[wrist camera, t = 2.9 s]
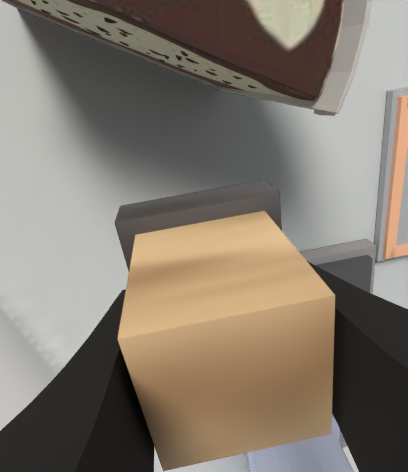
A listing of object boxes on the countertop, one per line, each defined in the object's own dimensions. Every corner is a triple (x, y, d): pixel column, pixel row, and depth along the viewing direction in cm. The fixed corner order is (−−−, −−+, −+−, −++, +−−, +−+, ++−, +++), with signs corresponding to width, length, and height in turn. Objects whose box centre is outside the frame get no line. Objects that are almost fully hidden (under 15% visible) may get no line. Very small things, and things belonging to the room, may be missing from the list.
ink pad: (359, 345, 24) (370, 361, 23) (241, 370, 24) (246, 387, 23) (366, 238, 20) (381, 249, 19) (226, 266, 20) (231, 279, 19)
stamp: (273, 297, 13) (351, 442, 8) (152, 321, 13) (146, 487, 8) (265, 179, 11) (363, 266, 6) (120, 205, 11) (80, 322, 6)
